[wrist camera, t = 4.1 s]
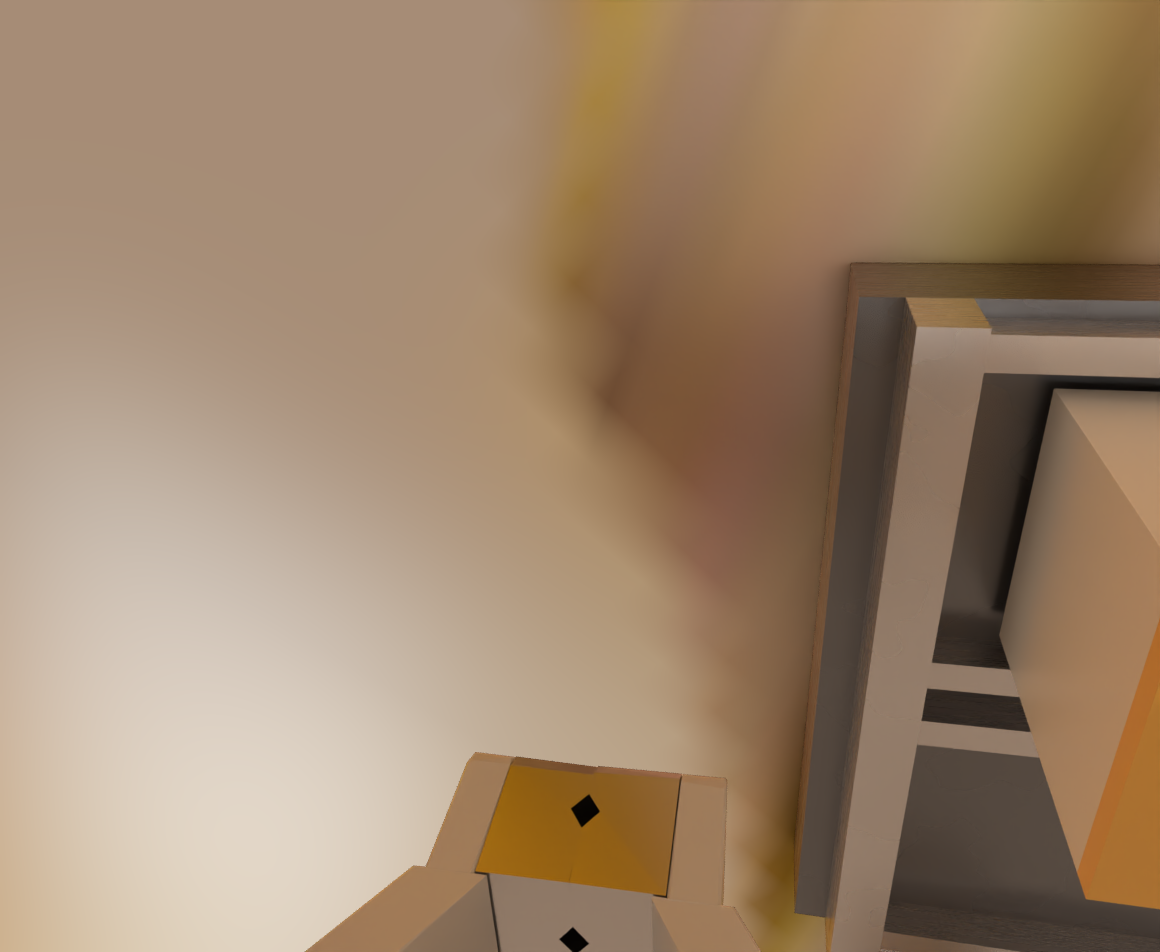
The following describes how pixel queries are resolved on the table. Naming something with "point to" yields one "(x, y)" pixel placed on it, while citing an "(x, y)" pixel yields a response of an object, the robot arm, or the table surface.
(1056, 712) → the fader
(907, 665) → the grey tray
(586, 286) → the table surface
